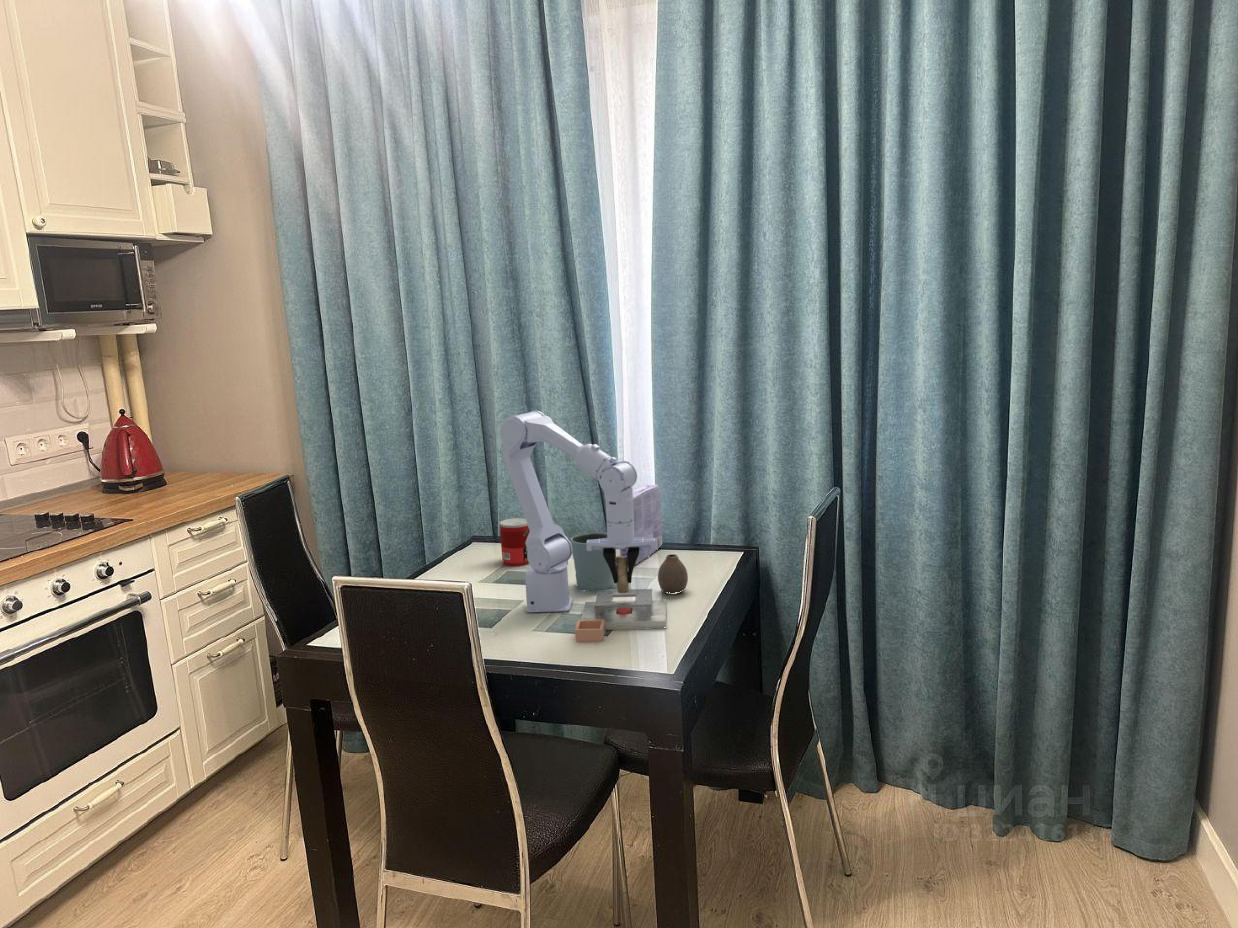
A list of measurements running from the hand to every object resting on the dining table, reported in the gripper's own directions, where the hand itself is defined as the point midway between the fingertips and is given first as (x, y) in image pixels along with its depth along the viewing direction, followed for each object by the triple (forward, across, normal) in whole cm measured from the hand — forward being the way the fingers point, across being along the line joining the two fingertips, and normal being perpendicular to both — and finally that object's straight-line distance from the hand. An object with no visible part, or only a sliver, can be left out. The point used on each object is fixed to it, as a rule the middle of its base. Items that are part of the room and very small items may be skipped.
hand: (622, 581), depth 195 cm
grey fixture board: (+8, 0, 0) cm, 8 cm away
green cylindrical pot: (+8, -8, +22) cm, 25 cm away
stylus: (+2, 0, 0) cm, 2 cm away
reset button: (+8, 0, 0) cm, 8 cm away
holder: (+8, -6, -10) cm, 14 cm away
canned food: (+9, -30, +44) cm, 54 cm away
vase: (+8, +11, +16) cm, 21 cm away
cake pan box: (+9, +3, +46) cm, 47 cm away
